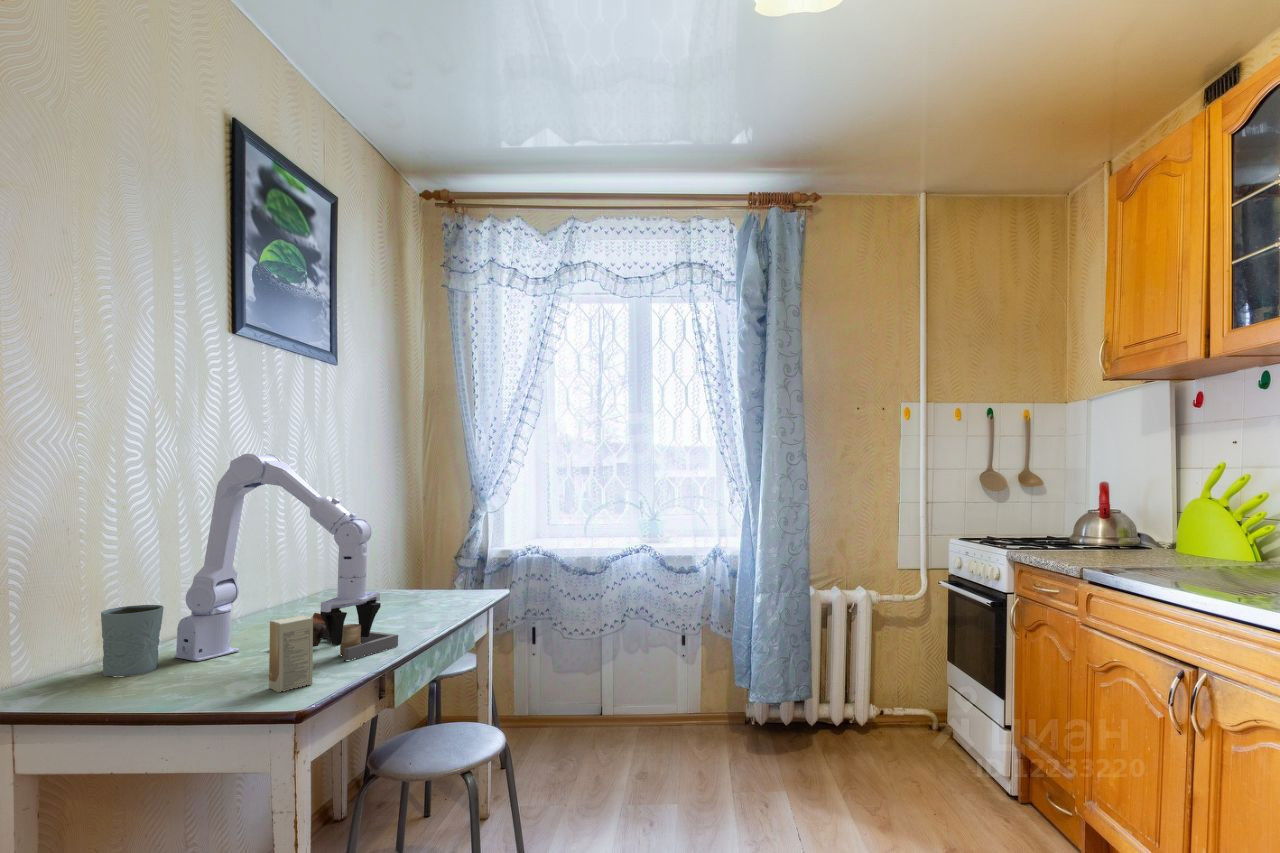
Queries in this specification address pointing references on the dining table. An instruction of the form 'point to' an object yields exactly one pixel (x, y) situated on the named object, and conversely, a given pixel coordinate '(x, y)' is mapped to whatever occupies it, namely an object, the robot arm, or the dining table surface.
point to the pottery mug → (318, 628)
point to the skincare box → (291, 653)
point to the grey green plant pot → (131, 639)
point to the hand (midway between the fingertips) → (350, 640)
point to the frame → (369, 644)
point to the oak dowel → (350, 636)
